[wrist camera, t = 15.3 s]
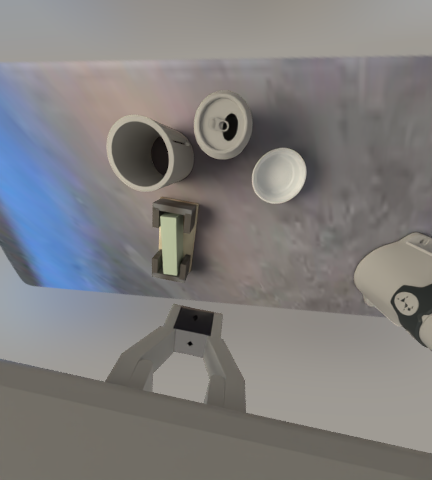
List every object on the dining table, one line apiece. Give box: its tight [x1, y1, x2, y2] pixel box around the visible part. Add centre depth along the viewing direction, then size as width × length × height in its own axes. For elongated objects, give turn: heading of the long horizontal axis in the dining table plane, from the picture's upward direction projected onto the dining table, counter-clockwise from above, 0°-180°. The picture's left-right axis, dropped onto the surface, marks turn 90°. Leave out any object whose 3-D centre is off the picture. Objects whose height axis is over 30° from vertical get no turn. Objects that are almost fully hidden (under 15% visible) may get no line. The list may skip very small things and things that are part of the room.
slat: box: [160, 212, 183, 276], centre depth 38 cm, size 3×13×5 cm, turn 175°
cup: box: [107, 115, 194, 192], centre depth 29 cm, size 9×9×12 cm
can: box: [194, 91, 253, 159], centre depth 27 cm, size 8×8×12 cm
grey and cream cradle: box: [152, 197, 199, 283], centre depth 39 cm, size 8×17×5 cm, turn 170°
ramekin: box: [252, 148, 307, 204], centre depth 32 cm, size 9×9×4 cm
